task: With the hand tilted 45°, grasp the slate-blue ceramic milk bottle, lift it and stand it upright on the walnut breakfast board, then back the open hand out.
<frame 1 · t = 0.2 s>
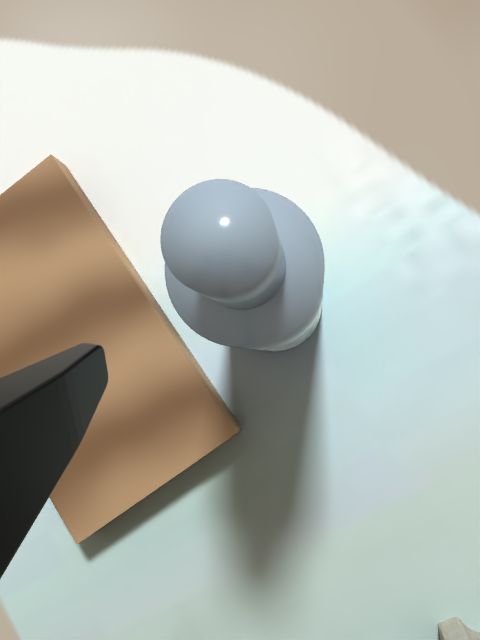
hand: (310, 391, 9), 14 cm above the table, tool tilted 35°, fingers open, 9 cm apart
slate-blue bottle: (275, 305, 24), on the table
walnut board: (78, 342, 26), on the table
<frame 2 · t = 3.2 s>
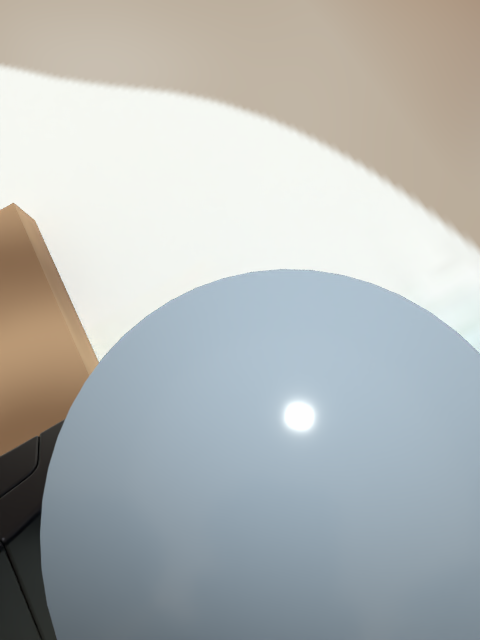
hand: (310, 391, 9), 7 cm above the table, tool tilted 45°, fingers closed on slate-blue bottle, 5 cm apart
slate-blue bottle: (304, 454, 16), on the table, touching gripper
walnut board: (0, 472, 17), on the table
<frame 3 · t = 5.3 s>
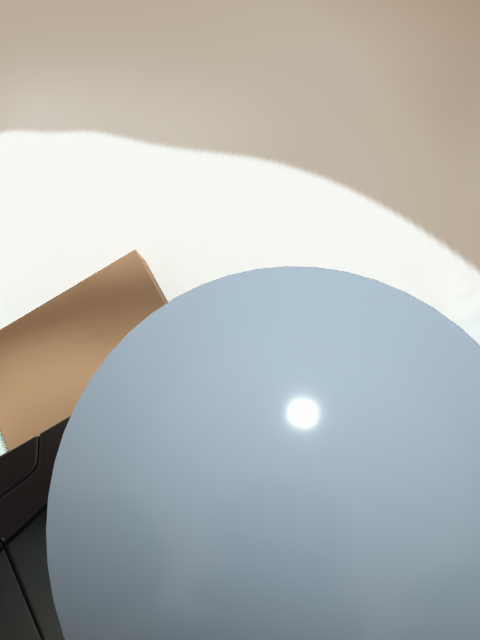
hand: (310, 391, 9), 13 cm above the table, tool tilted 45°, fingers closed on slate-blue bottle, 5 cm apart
slate-blue bottle: (304, 454, 16), point 6 cm above the table, touching gripper
walnut board: (136, 455, 23), on the table
when the fingers open (9 cm above the table, at t = 7.1 s): slate-blue bottle stays where it is, resting on walnut board.
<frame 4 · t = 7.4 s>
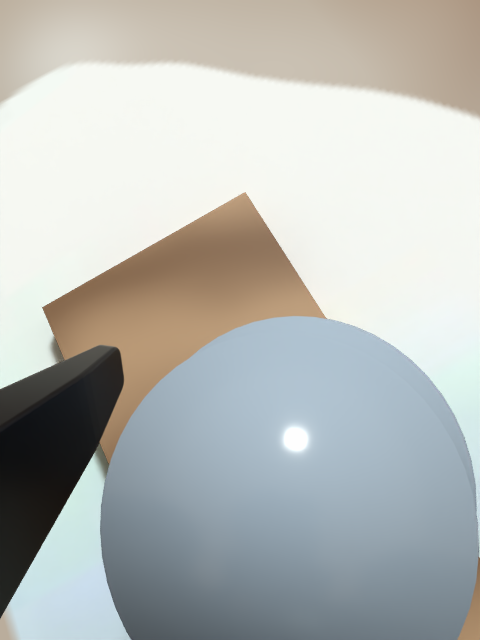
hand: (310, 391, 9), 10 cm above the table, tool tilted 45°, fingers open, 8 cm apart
slate-blue bottle: (305, 458, 17), point 2 cm above the table, touching walnut board
walnut board: (249, 440, 18), on the table
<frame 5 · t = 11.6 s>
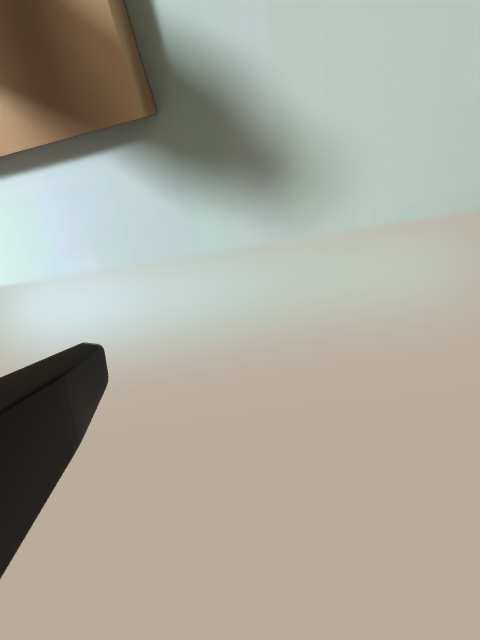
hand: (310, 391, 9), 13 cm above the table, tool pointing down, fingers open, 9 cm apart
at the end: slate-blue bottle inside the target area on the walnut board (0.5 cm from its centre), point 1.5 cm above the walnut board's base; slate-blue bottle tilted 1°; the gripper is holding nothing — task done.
